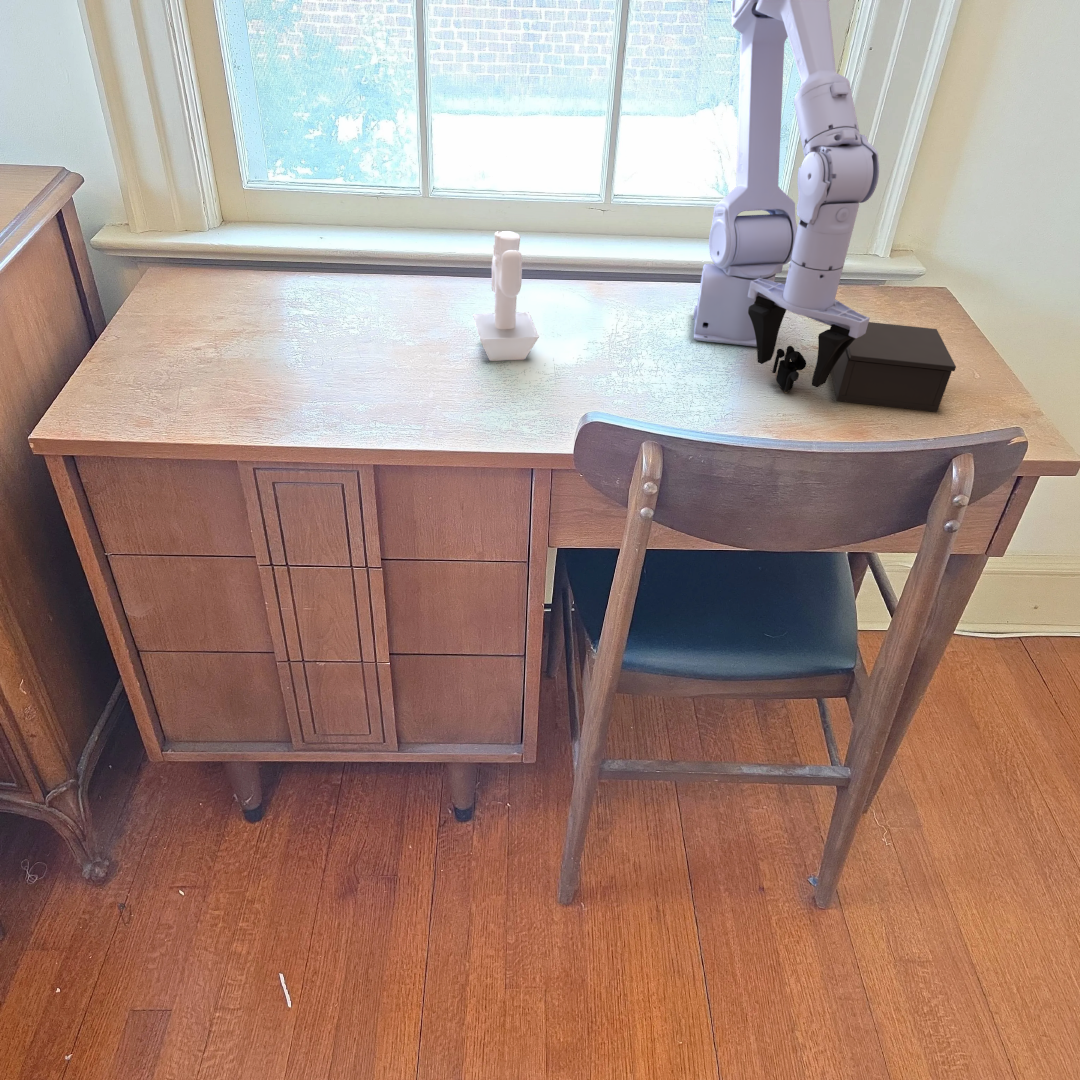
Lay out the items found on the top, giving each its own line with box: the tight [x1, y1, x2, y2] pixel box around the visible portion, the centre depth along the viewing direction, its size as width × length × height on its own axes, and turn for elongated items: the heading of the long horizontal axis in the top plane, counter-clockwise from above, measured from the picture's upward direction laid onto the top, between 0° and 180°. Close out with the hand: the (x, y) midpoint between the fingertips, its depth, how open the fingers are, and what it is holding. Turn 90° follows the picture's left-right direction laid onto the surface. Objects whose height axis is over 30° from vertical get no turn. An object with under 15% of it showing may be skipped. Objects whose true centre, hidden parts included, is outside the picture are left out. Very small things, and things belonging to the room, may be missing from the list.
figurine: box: [472, 230, 540, 362], centre depth 108 cm, size 7×9×15 cm
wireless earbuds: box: [771, 345, 807, 394], centre depth 107 cm, size 7×2×5 cm, turn 5°
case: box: [830, 349, 953, 413], centre depth 108 cm, size 10×12×5 cm
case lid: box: [847, 321, 957, 372], centre depth 106 cm, size 11×12×1 cm
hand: (790, 372), depth 107 cm, fingers open, 7 cm apart
